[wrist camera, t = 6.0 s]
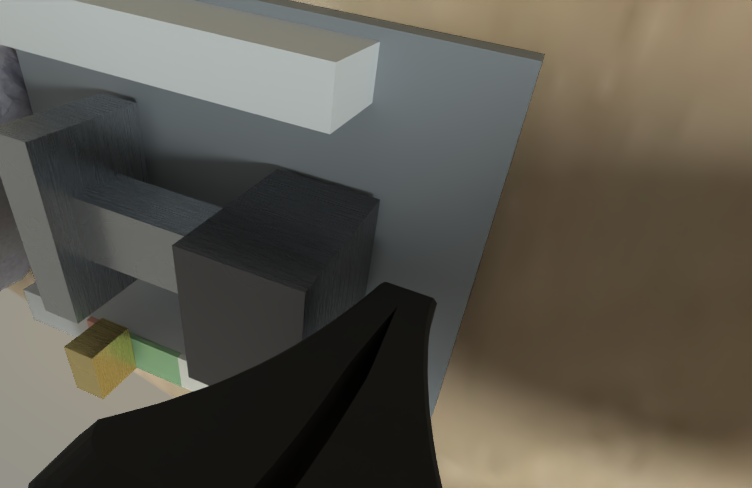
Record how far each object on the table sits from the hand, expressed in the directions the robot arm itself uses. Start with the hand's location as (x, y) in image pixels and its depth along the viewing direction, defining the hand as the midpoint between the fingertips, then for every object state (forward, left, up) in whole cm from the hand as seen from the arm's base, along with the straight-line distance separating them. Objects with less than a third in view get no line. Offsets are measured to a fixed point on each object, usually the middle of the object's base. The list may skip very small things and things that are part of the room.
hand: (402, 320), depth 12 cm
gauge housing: (+6, 0, -3) cm, 7 cm away
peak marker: (+9, +4, +1) cm, 10 cm away
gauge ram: (+6, +1, -2) cm, 6 cm away
